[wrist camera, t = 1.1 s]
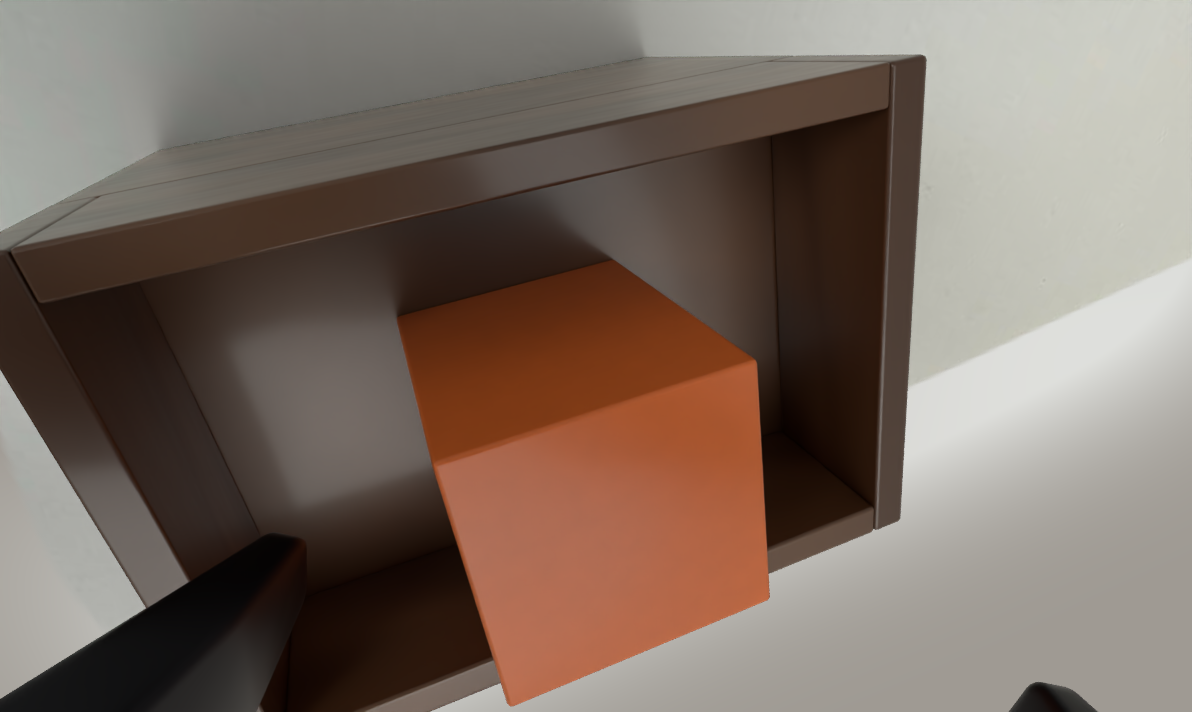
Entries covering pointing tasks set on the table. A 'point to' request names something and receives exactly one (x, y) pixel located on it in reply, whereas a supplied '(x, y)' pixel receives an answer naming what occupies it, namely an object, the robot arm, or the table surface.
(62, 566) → the table surface
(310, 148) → the box
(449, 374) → the block
